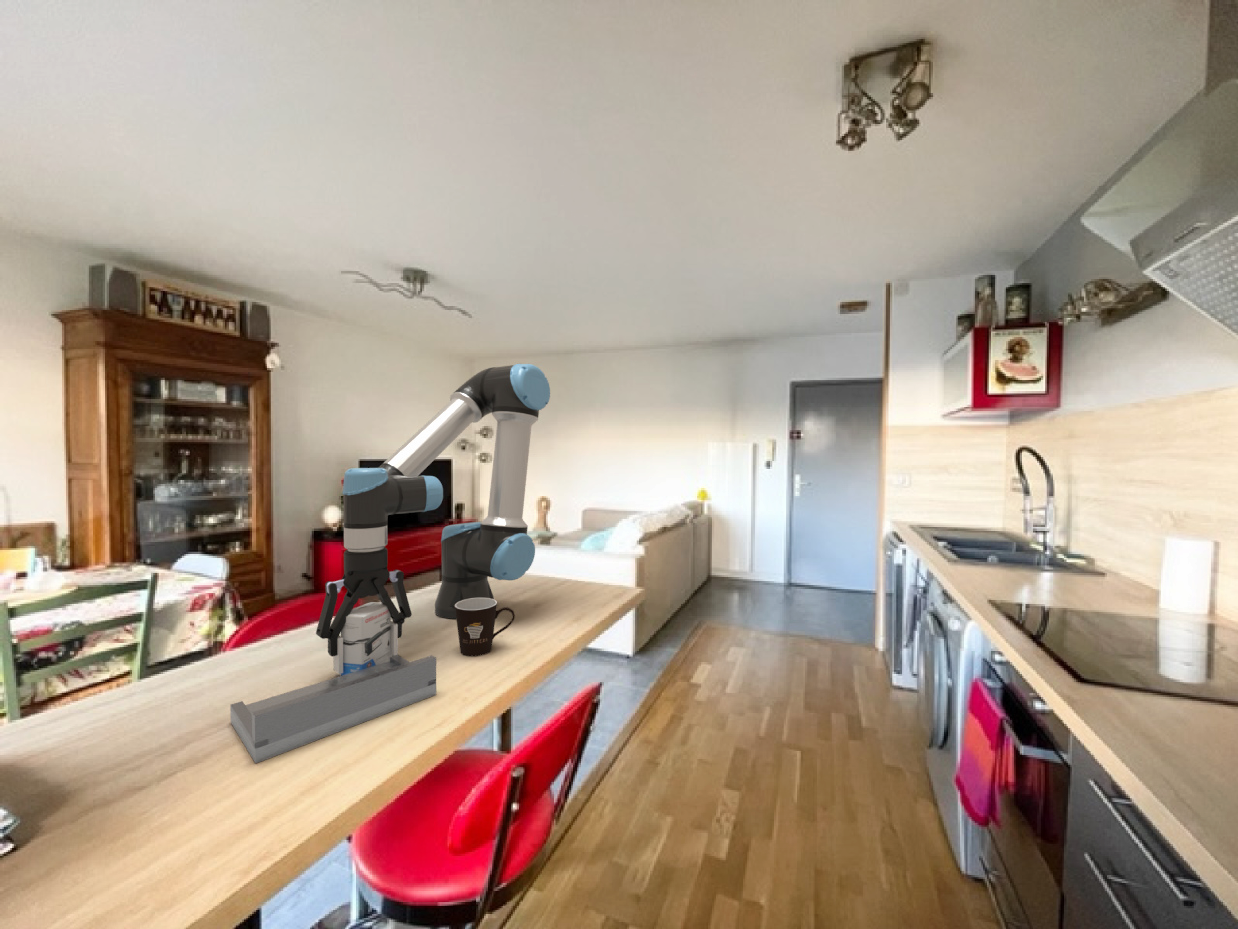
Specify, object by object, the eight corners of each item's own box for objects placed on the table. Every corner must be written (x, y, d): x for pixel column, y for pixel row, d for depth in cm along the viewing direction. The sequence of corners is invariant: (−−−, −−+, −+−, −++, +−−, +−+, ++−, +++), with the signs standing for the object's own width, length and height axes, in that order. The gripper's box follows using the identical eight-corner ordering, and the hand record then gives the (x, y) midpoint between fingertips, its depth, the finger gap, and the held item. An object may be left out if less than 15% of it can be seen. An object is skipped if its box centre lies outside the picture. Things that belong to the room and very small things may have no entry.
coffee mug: (446, 656, 103) (446, 608, 103) (468, 640, 111) (468, 596, 111) (498, 662, 100) (498, 613, 100) (516, 646, 109) (516, 600, 108)
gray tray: (397, 668, 97) (397, 635, 97) (436, 694, 87) (436, 657, 87) (230, 722, 78) (230, 681, 77) (255, 763, 67) (254, 716, 67)
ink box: (362, 679, 92) (362, 616, 92) (339, 677, 93) (338, 614, 93) (392, 660, 101) (392, 602, 100) (370, 658, 102) (370, 601, 101)
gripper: (412, 538, 107) (413, 641, 108) (293, 553, 90) (295, 675, 91) (430, 543, 102) (430, 651, 103) (307, 560, 85) (308, 689, 86)
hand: (366, 662), depth 97 cm, fingers closed on ink box, 9 cm apart
